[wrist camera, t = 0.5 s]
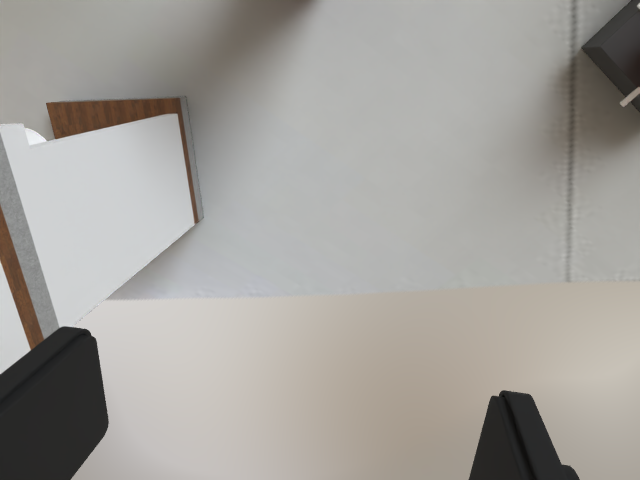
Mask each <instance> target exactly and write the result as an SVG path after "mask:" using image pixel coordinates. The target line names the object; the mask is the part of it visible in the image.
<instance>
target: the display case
mask: <svg viewBox="0 0 640 480" xmlns="http://www.w3.org/2000/svg"><path fill="white" fill-rule="evenodd" d="M46 105H47V109H48V113H49V116H50V120H51V124H52V128H53V132H54V136H55V140H51V141H46V140H45V139H44V138H43V137H42V136H41V135H40V134H38V133H37V132H35V131H33V130H31V129H27V128H24V125H23V123H20V124H0V374H1V373H3V372H4V371H5V370H6V369H8V368H9V367H10V366H12V365H13V364H14V363H15V362H17V361H18V360H19V359H20V358H22V357H23V356H24V355H25V354H27V353H28V352H29V351H31V350H32V349H33V348H34V347H36V346H37V345H38V344H39V343H41V342H42V341H43V340H44V339H46V338H47V337H48V336H50V335H51V334H52V333H53V332H55V331H56V330H57V329H59V328H60V327H63V326H68V327H73V326H74V325H75V324H76V323H77V322H79V321H80V320H81V319H82V318H83V317H85V316H86V315H87V314H88V313H89V312H91V311H92V310H93V309H94V308H95V307H97V306H98V305H99V304H100V303H101V302H103V301H104V300H105V299H106V298H107V297H109V296H110V295H111V294H112V293H113V292H115V291H116V290H117V289H118V288H119V287H121V286H122V285H123V284H124V283H125V282H127V281H128V280H129V279H130V278H131V277H133V276H134V275H135V274H136V273H137V272H139V271H140V270H141V269H142V268H143V267H145V266H146V265H147V264H148V263H149V262H151V261H152V260H153V259H154V258H155V257H157V256H158V255H159V254H160V253H161V252H163V251H164V250H165V249H166V248H167V247H169V246H170V245H171V244H172V243H173V242H175V241H176V240H177V239H178V238H179V237H181V236H182V235H183V234H184V233H186V232H187V231H188V230H189V229H190V228H192V227H193V226H194V225H195V224H196V223H198V222H199V221H200V220H201V219H202V218H204V215H203V209H202V202H201V195H200V188H199V181H198V175H197V168H196V161H195V154H194V148H193V141H192V134H191V127H190V121H189V114H188V107H187V100H186V97H160V98H134V99H107V100H81V101H60V102H51V103H46Z"/></svg>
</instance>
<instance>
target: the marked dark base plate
mask: <svg viewBox="0 0 640 480" xmlns="http://www.w3.org/2000/svg"><path fill="white" fill-rule="evenodd" d="M582 49H583V50H584V52H585V53H586V54H587V55H588V56H589V57H590V58H591V59H592V60H593V61H594V62H595V64H596V65H597V66H598V67H599V68H600V69H601V70H602V71H603V72H604V73H605V74H606V76H607V77H608V78H609V79H610V80H611V81H612V82H613V83H614V84H615V85H616V86H617V88H618V89H619V90H620V91H621V92H622V93H623V94H624V95H625V96H626V98H625V99H624V100H622V101H621V102H620V104H621V106H622V107H624V106H625V105H627V104H628V103H629V102H631V103H632V104H633V105H634V106H635V107H636V108H637V109H638V111H639V112H640V0H632V1H631V2H629V3H628V4H627V5H626V6H625V7H624V8H623V9H622V10H621V11H620V12H619V13H618V14H617V15H616V16H615V17H614V18H612V19H611V20H610V21H609V22H608V23H607V24H606V25H605V26H604V27H603V28H602V29H601V30H600V31H599V32H598V33H597V34H595V35H594V36H593V37H592V38H591V39H590V40H589V41H588V42H587V43H586V44H585V45H584V46H583V47H582Z"/></svg>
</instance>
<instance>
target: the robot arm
mask: <svg viewBox="0 0 640 480" xmlns="http://www.w3.org/2000/svg"><path fill="white" fill-rule="evenodd" d="M107 428H108V414H107V408H106V401H105V395H104V389H103V381H102V374H101V368H100V361H99V355H98V348H97V342H96V339H95V338H94V337H93V336H91V333H90V332H89V331H88V330H87V329H81V328H74V327H68V326H63V327H60V328H59V329H57V330H56V331H55V332H53V333H52V334H51V335H50V336H48V337H47V338H46V339H44V340H43V341H42V342H41V343H39V344H38V345H37V346H36V347H34V348H33V349H32V350H31V351H29V352H28V353H27V354H25V355H24V356H23V357H22V358H20V359H19V360H18V361H17V362H15V363H14V364H13V365H12V366H10V367H9V368H8V369H6V370H5V371H4V372H3V373H1V374H0V480H71V478H72V477H73V476H74V474H75V473H76V472H77V471H78V469H79V468H80V467H81V465H82V464H83V463H84V461H85V460H86V459H87V458H88V456H89V455H90V454H91V452H92V451H93V450H94V448H95V447H96V446H97V445H98V443H99V442H100V441H101V439H102V438H103V437H104V435H105V433H106V431H107ZM469 480H580V479H579V477H578V475H577V474H576V472H575V470H574V469H573V468H572V467H570V466H567V465H561V462H560V460H559V458H558V455H557V453H556V451H555V448H554V446H553V444H552V441H551V439H550V437H549V435H548V432H547V430H546V428H545V425H544V423H543V421H542V418H541V416H540V414H539V411H538V409H537V407H536V405H535V402H534V400H533V398H532V396H531V395H529V394H524V393H518V392H511V391H501V392H500V394H499V397H498V396H492V397H491V399H490V402H489V405H488V409H487V413H486V417H485V421H484V424H483V428H482V432H481V436H480V440H479V443H478V447H477V451H476V455H475V458H474V462H473V466H472V470H471V474H470V477H469Z"/></svg>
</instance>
